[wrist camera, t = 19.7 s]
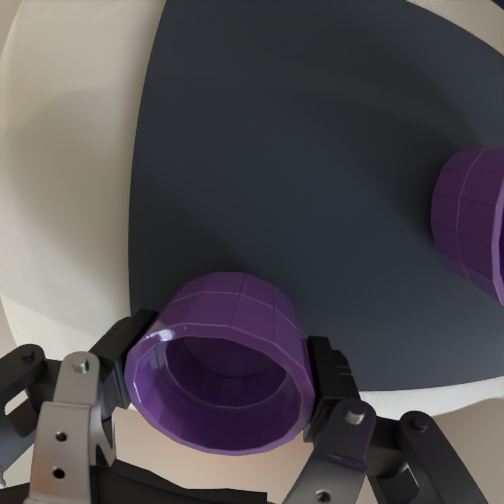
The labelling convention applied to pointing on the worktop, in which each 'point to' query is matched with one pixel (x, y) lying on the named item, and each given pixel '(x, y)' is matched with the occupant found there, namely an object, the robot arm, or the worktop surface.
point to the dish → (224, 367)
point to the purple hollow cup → (472, 217)
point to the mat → (319, 173)
